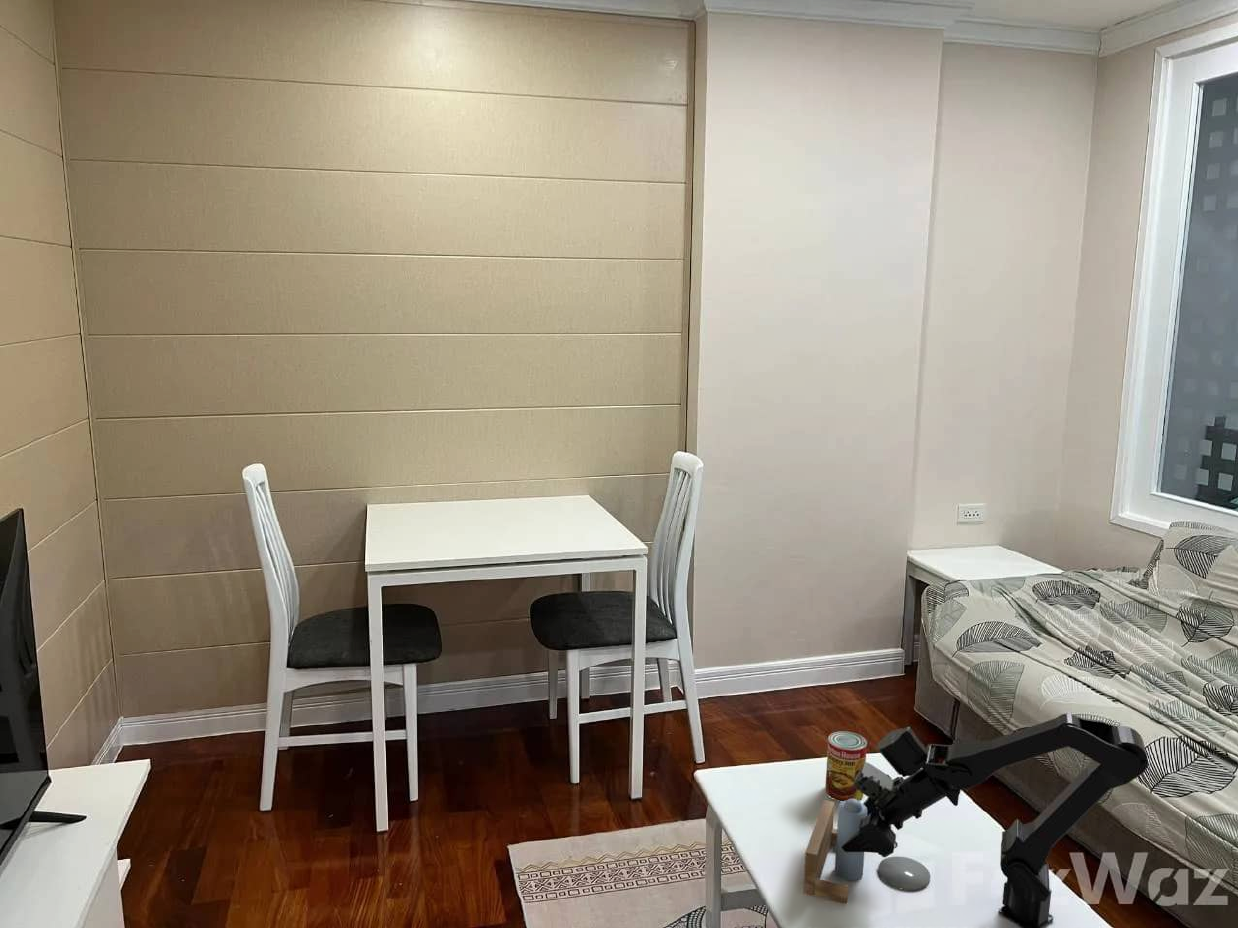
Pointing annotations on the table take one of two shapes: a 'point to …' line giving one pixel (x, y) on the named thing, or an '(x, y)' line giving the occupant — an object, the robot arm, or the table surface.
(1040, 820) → the robot arm
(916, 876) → the coaster
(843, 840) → the pepper mill
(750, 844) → the table surface
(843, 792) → the canned food
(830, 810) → the walnut bench
